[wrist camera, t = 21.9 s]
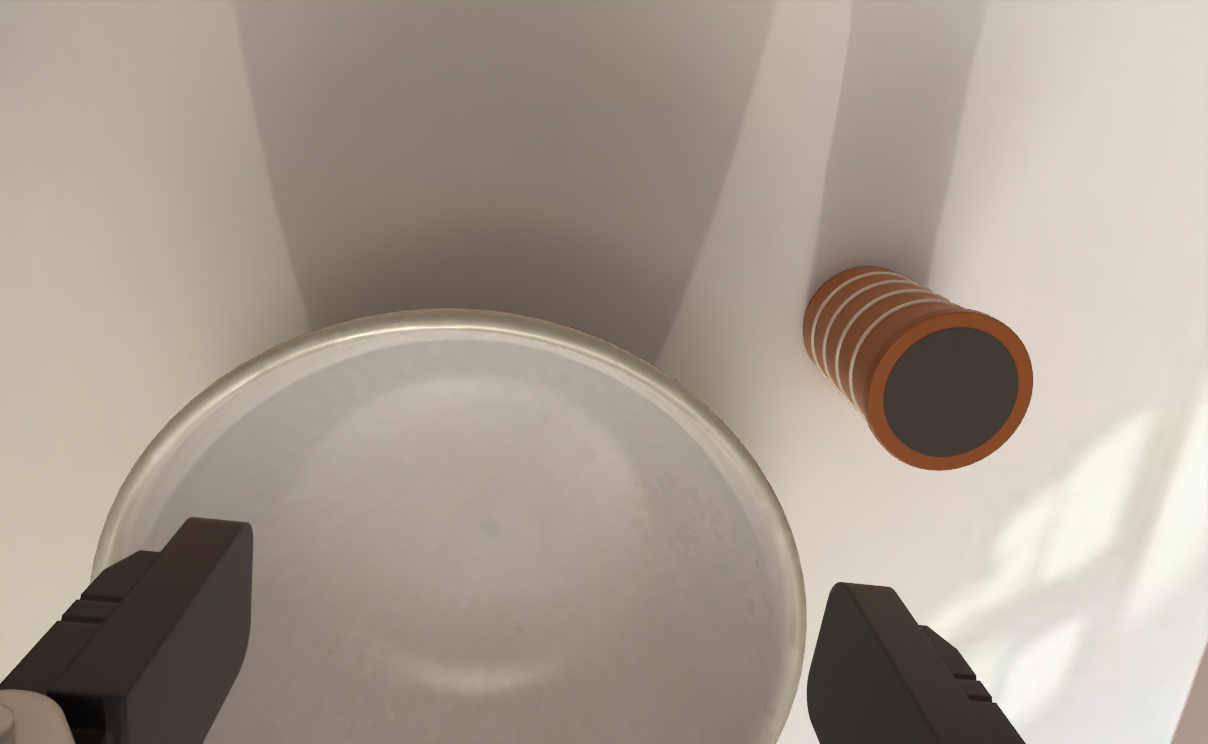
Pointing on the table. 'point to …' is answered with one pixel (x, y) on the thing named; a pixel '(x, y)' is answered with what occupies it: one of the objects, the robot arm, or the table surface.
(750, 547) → the decorative bowl
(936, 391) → the brown striped cylinder
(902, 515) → the table surface
